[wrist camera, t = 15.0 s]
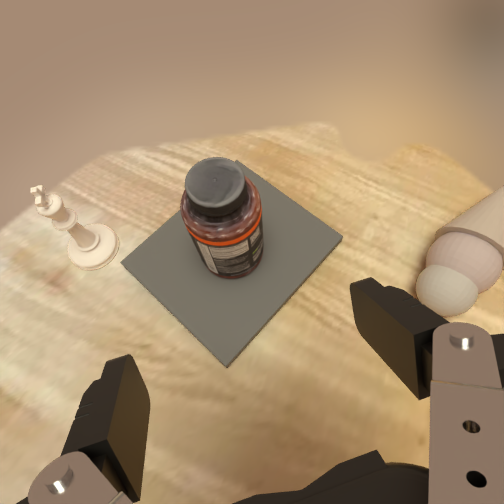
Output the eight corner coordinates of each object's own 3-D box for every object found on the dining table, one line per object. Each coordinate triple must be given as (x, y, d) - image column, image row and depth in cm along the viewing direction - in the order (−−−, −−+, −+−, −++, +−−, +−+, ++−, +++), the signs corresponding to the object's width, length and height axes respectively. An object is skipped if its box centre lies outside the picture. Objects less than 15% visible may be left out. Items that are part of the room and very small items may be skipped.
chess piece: (69, 274, 34) (-4, 224, 25) (70, 230, 36) (3, 169, 27) (119, 265, 34) (65, 211, 25) (118, 222, 36) (67, 157, 27)
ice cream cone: (498, 198, 35) (420, 319, 33) (470, 155, 33) (383, 282, 31) (572, 196, 30) (484, 342, 27) (545, 144, 27) (446, 299, 25)
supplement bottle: (204, 222, 34) (176, 142, 24) (265, 224, 34) (263, 143, 24) (197, 279, 32) (162, 217, 22) (262, 282, 31) (258, 220, 21)
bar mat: (227, 368, 29) (225, 366, 29) (124, 266, 34) (120, 262, 33) (341, 241, 34) (343, 236, 33) (237, 165, 38) (236, 159, 37)
